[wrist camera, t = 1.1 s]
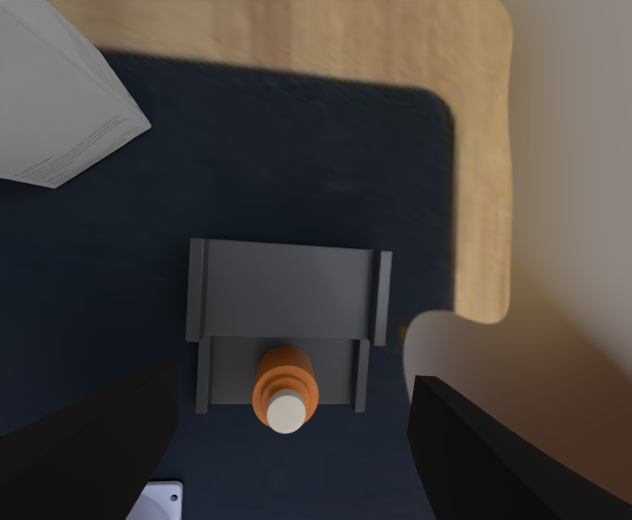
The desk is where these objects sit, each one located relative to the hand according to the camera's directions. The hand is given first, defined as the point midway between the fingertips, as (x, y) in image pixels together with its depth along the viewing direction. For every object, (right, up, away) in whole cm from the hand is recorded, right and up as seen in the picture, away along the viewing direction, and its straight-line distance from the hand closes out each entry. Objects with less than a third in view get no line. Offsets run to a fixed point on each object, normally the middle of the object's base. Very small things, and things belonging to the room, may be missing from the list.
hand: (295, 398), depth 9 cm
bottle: (-2, -4, +13) cm, 14 cm away
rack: (-2, -1, +14) cm, 14 cm away
